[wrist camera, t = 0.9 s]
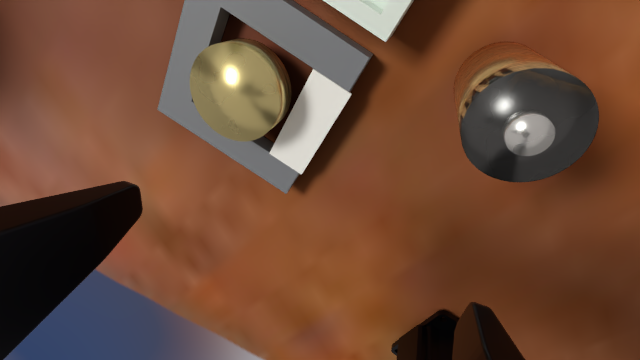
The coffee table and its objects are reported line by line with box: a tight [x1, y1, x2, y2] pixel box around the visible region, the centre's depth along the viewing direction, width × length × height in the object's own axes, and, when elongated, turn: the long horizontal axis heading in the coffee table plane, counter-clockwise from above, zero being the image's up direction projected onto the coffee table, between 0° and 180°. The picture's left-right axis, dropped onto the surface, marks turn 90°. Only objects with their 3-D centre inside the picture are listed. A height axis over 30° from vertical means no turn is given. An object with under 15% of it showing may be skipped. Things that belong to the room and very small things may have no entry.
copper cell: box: [454, 42, 599, 182], centre depth 14 cm, size 4×4×7 cm
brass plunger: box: [190, 38, 291, 142], centre depth 19 cm, size 5×5×2 cm
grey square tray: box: [158, 0, 373, 193], centre depth 20 cm, size 10×10×1 cm
